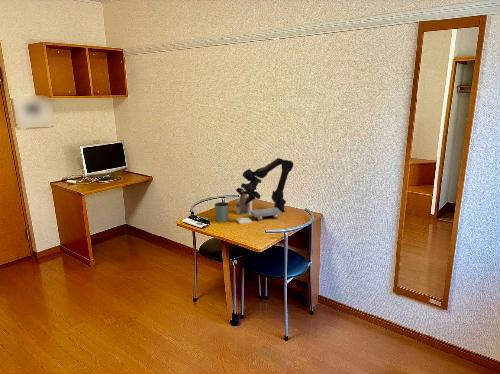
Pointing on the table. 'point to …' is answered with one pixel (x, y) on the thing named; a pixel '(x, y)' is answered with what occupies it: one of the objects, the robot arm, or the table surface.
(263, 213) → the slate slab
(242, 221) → the pad
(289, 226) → the table surface
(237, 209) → the light bulb box
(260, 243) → the table surface
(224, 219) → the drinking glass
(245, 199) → the walnut roller
